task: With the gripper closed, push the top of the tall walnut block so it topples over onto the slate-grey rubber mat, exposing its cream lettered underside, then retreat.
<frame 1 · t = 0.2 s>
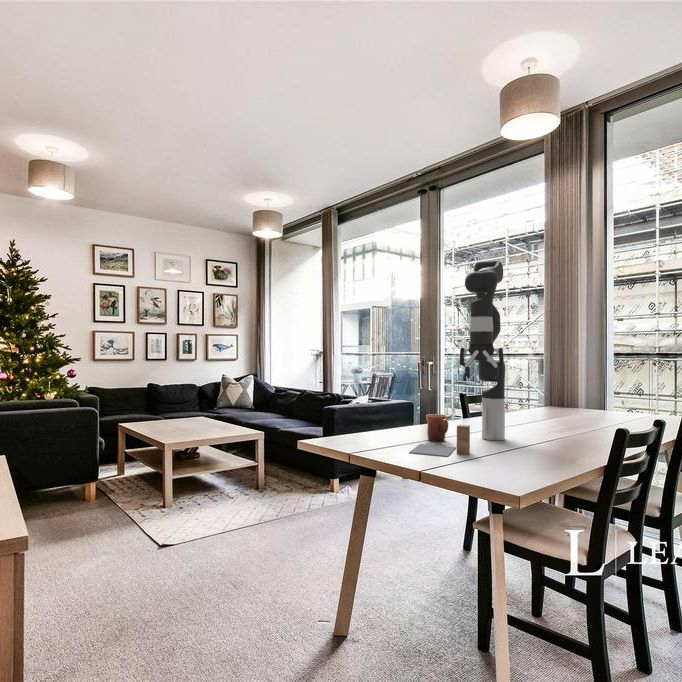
hand: (481, 378, 158), 28 cm above the table, fingers open, 8 cm apart
walnut block: (463, 453, 169), on the table
mat: (433, 450, 173), on the table
mug: (438, 441, 191), on the table
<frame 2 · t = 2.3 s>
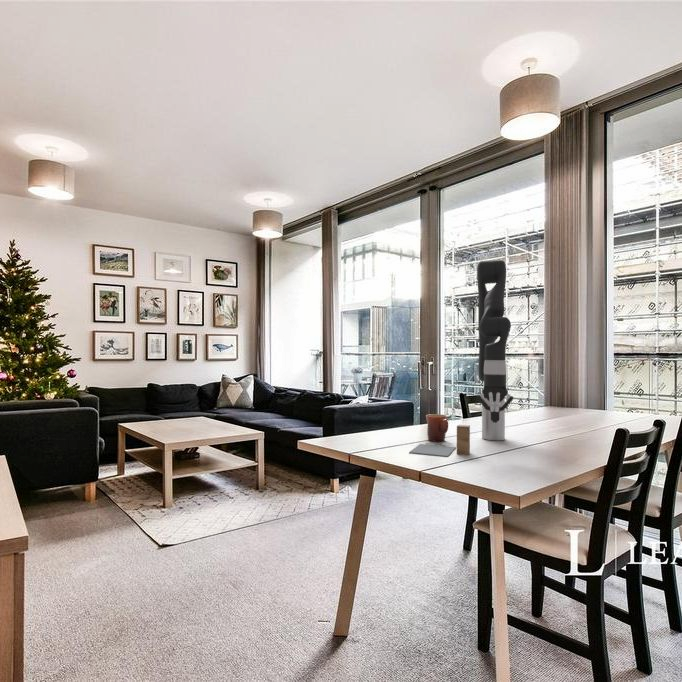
hand: (495, 422, 164), 12 cm above the table, fingers closed
nothing on the table moved.
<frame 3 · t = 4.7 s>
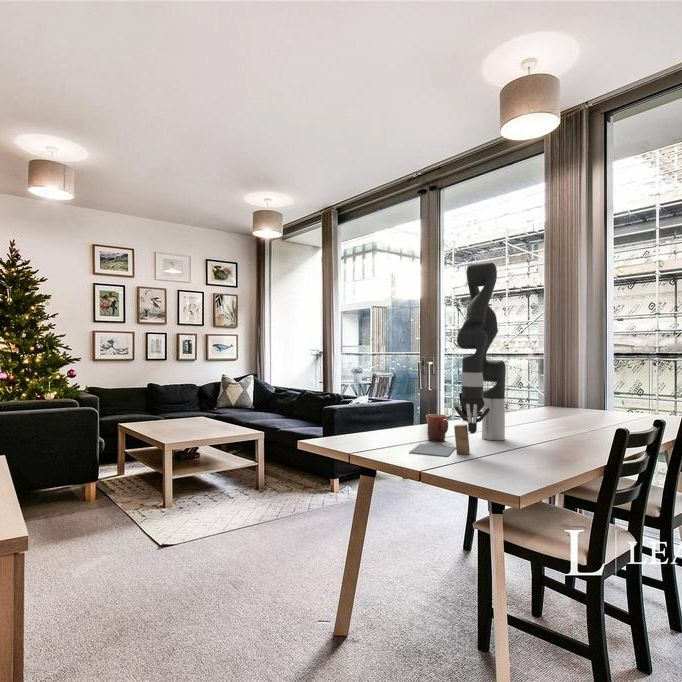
hand: (472, 433, 167), 8 cm above the table, fingers closed
walnut block: (463, 452, 169), on the table, tilted 5°, touching gripper
everything else where it was.
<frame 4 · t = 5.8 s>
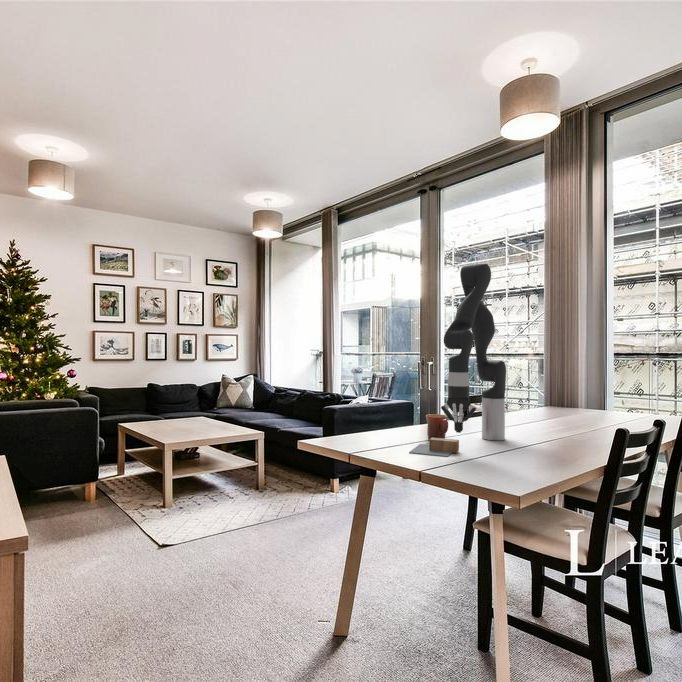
hand: (458, 432, 169), 8 cm above the table, fingers closed
walnut block: (457, 446, 170), point 2 cm above the table, tilted 90°, touching mat
everything else where it was.
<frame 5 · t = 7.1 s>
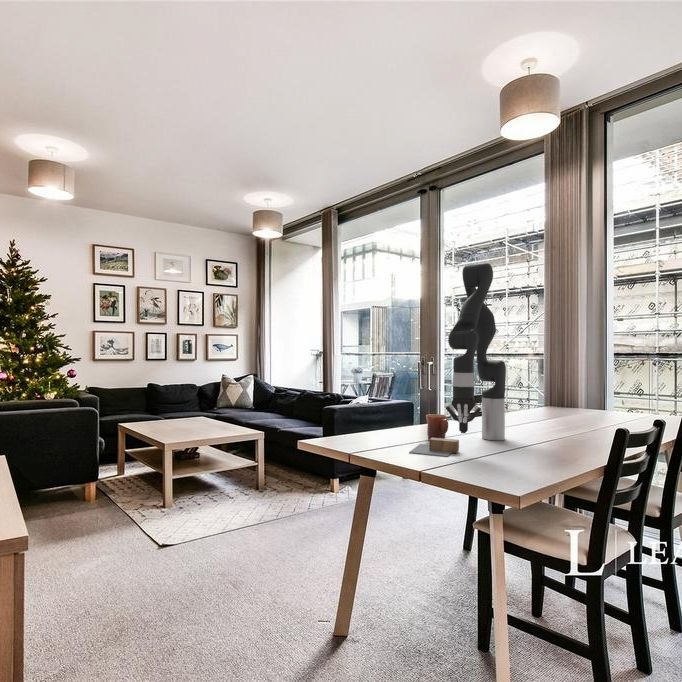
hand: (463, 432, 169), 7 cm above the table, fingers closed
nothing on the table moved.
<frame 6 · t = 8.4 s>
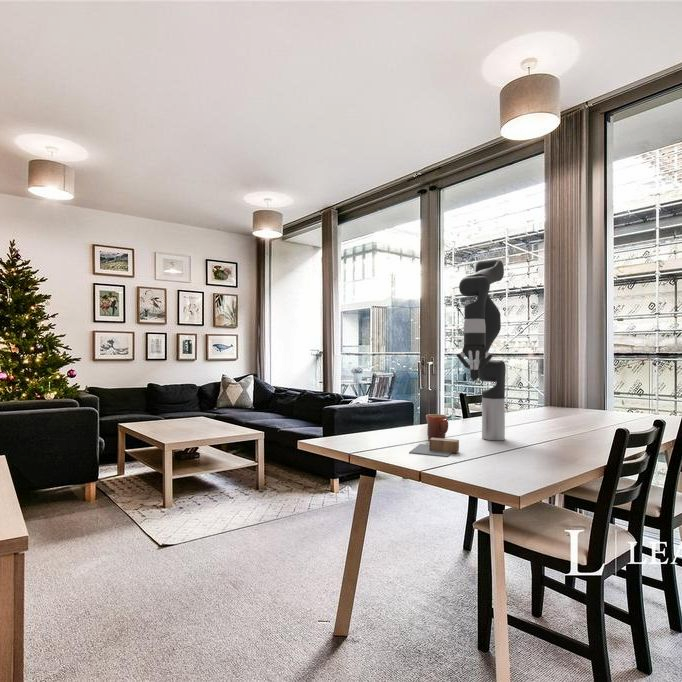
hand: (474, 380, 168), 27 cm above the table, fingers closed
nothing on the table moved.
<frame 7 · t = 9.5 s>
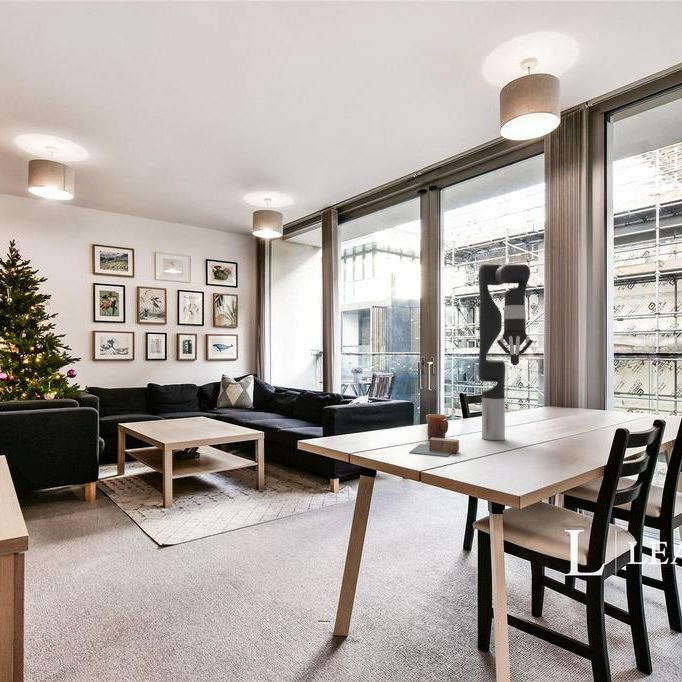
hand: (514, 365, 172), 32 cm above the table, fingers closed
nothing on the table moved.
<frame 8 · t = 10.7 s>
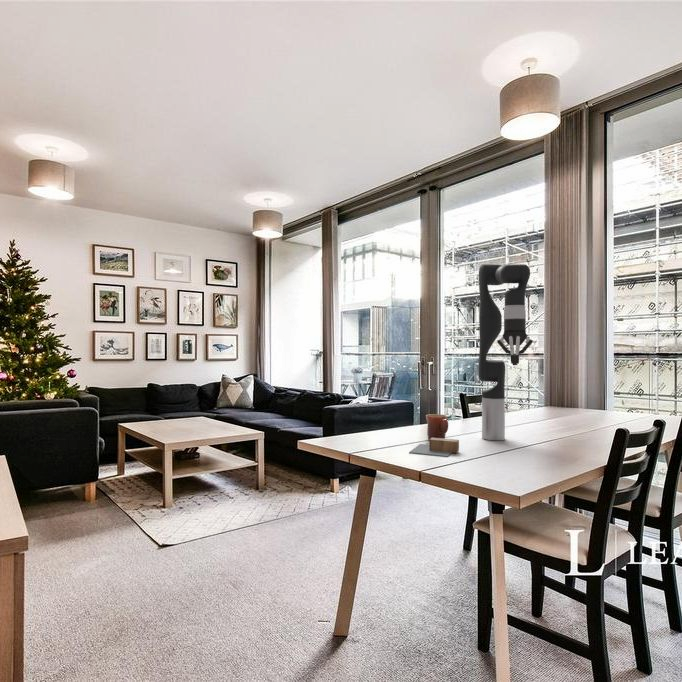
hand: (514, 365, 172), 32 cm above the table, fingers closed
nothing on the table moved.
at the end: walnut block tilted 90°; walnut block inside the target area (4.6 cm from its centre), point 2.4 cm above the table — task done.
